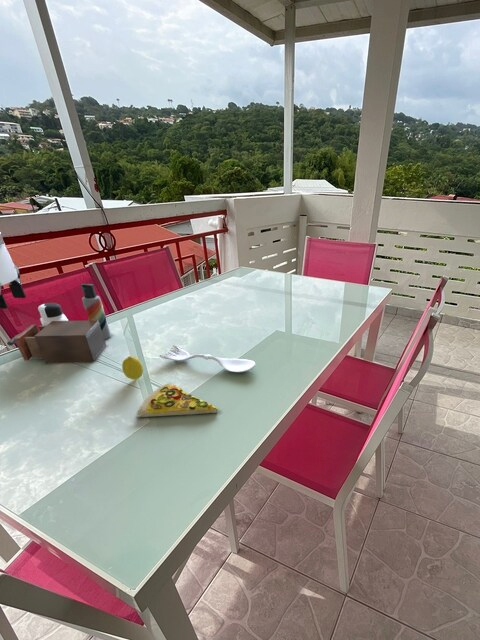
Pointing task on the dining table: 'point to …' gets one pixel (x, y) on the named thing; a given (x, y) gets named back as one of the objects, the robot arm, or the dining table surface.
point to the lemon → (132, 368)
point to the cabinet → (71, 341)
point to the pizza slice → (173, 403)
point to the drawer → (28, 343)
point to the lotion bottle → (95, 308)
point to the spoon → (227, 364)
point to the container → (51, 313)
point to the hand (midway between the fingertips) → (11, 302)
